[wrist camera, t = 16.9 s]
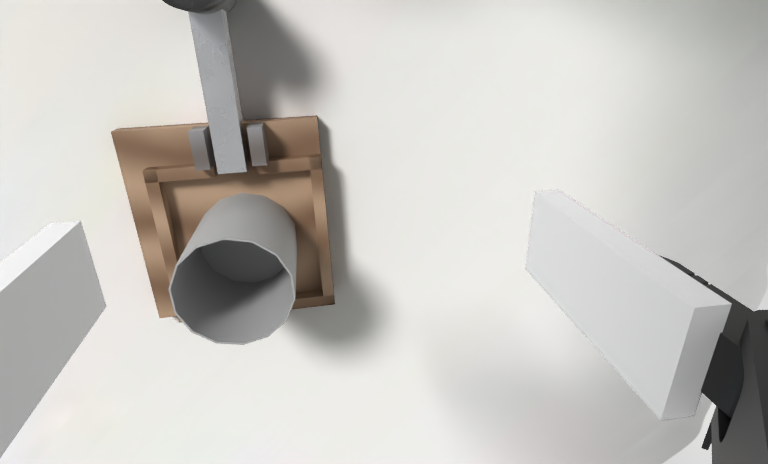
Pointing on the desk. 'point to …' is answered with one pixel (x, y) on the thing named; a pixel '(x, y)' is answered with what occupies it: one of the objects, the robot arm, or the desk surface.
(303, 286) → the dock
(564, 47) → the desk surface
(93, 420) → the desk surface
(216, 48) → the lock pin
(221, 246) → the cup
